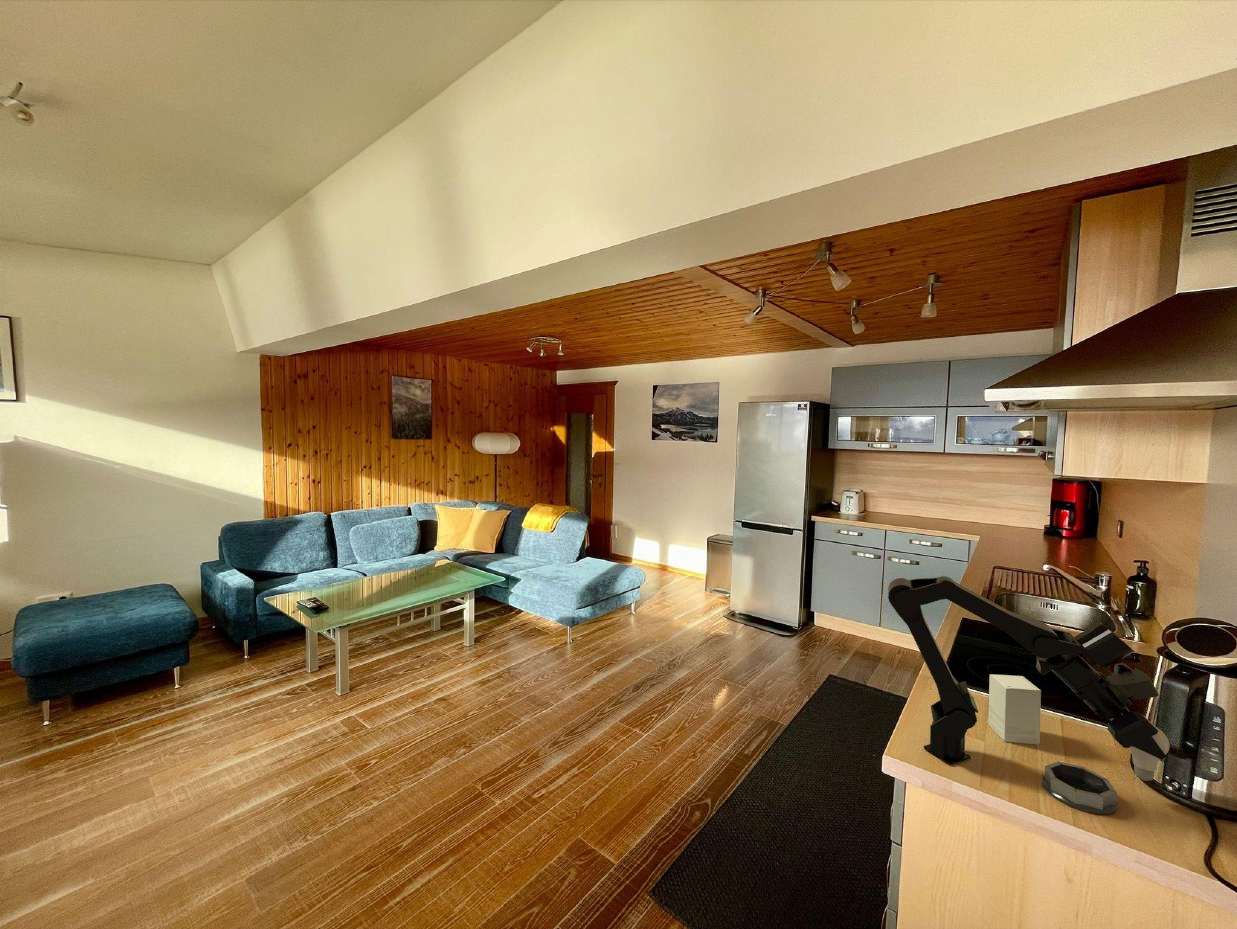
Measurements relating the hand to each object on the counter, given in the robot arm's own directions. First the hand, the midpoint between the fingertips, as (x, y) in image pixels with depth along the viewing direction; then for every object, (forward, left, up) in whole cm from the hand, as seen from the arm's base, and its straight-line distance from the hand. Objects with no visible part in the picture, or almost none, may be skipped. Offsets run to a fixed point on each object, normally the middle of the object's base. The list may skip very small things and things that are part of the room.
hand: (1155, 748), depth 97 cm
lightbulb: (-1, +1, -7) cm, 7 cm away
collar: (-11, +6, -10) cm, 16 cm away
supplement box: (-2, +24, -11) cm, 26 cm away
